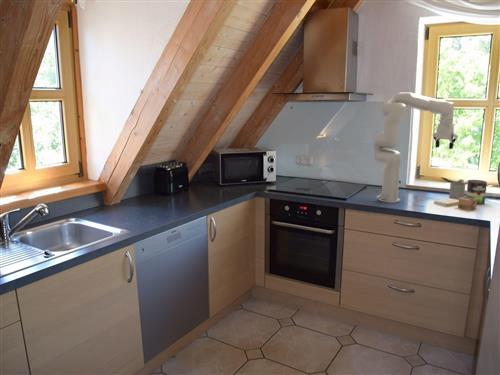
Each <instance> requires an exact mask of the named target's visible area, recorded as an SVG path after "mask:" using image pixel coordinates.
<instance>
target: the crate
mask: <svg viewBox="0 0 500 375" xmlns="http://www.w3.org/2000/svg"><path fill="white" fill-rule="evenodd" d="M458 200H459V203H458V205H457V207H458V208H460V209H464V210H468V211H469V212H471V211H470V210H474V211H476V210H475V209H476V208H477V206H478V205H477V199H475V198H471V197H466V196H464V197H460V198H459V199H458Z"/></svg>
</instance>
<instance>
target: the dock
mask: <svg viewBox="0 0 500 375" xmlns="http://www.w3.org/2000/svg"><path fill="white" fill-rule="evenodd" d="M458 203H459V199H454V198H453V199H451V198H449V197H447V198H442V199H437V200H435V199H434V201H433V204H434V205H439V206H442V207H444V208H450V207H455V206H458Z"/></svg>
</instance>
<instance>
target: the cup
mask: <svg viewBox="0 0 500 375" xmlns="http://www.w3.org/2000/svg"><path fill="white" fill-rule="evenodd" d="M465 191H466V183H464V182H458V181H457V182H453V181H452V182H450V187H449V197H448V198H451V199H455V200H459V198H460V197H465Z"/></svg>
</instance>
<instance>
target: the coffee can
mask: <svg viewBox="0 0 500 375" xmlns="http://www.w3.org/2000/svg"><path fill="white" fill-rule="evenodd" d="M487 185H488V182H487V181H486V180H481V179H468V180H467V185H466V194H465V195H466V196H465V197H471V198H475V199H477V205H476V206H478V205H484V204H485V202H486V192H487Z"/></svg>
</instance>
